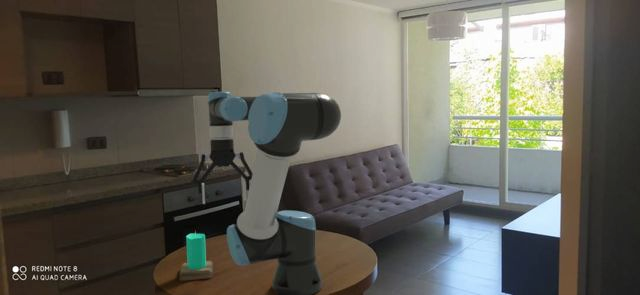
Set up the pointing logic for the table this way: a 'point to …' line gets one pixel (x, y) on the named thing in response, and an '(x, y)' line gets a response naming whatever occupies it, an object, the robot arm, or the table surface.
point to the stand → (196, 272)
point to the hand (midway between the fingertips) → (224, 201)
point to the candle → (196, 251)
